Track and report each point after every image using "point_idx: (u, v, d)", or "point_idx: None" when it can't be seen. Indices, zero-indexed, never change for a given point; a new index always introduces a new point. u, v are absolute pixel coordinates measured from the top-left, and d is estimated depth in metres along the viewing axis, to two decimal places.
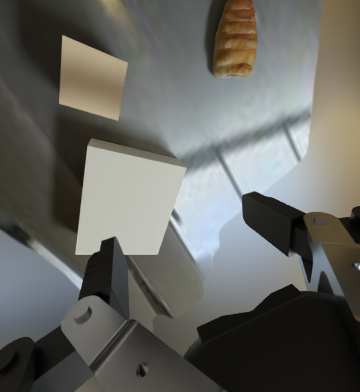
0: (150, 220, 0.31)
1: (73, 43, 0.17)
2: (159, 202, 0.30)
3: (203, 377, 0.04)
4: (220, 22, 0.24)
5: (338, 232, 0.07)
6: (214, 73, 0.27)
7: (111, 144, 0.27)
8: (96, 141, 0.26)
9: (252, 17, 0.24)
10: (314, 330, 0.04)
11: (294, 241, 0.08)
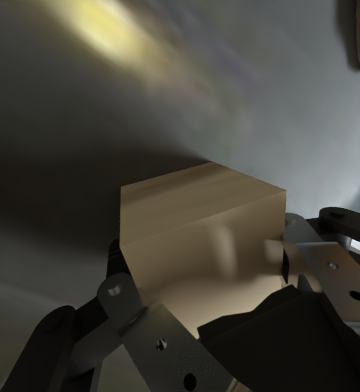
0: None
1: (152, 244, 0.06)
2: None
3: (217, 365, 0.04)
4: None
5: (302, 232, 0.07)
6: None
7: None
8: None
9: None
10: (314, 330, 0.04)
11: None
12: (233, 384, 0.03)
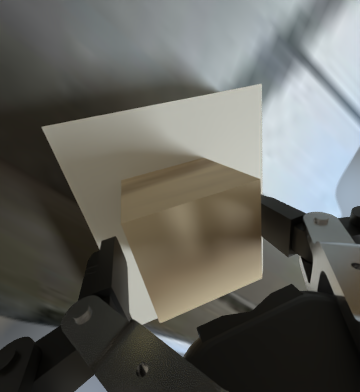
0: None
1: (147, 222, 0.07)
2: None
3: (203, 377, 0.04)
4: None
5: (338, 232, 0.07)
6: None
7: None
8: None
9: None
10: (314, 330, 0.04)
11: (294, 241, 0.08)
12: None
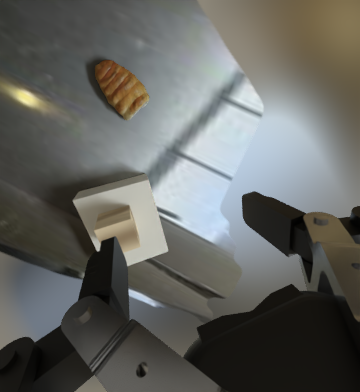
0: (145, 228, 0.39)
1: (100, 230, 0.30)
2: (144, 213, 0.37)
3: (203, 377, 0.04)
4: (102, 90, 0.31)
5: (338, 232, 0.07)
6: (125, 119, 0.34)
7: (91, 189, 0.36)
8: (81, 192, 0.36)
9: (116, 69, 0.30)
10: (314, 330, 0.04)
11: (294, 241, 0.08)
12: None
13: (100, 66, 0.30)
